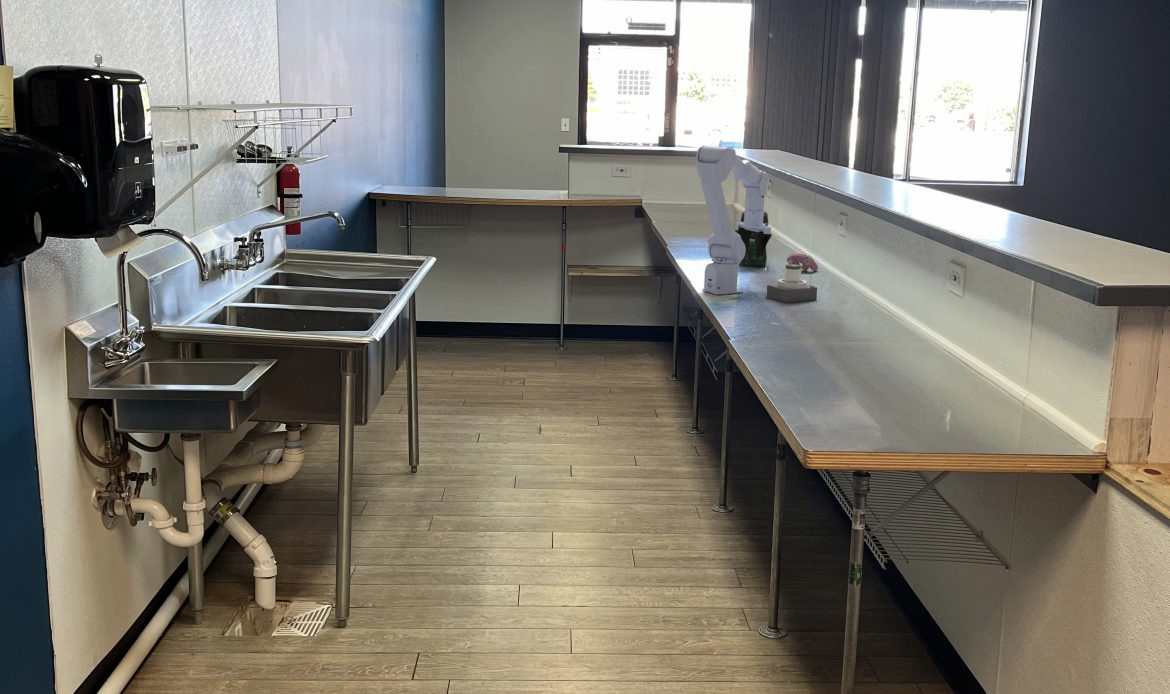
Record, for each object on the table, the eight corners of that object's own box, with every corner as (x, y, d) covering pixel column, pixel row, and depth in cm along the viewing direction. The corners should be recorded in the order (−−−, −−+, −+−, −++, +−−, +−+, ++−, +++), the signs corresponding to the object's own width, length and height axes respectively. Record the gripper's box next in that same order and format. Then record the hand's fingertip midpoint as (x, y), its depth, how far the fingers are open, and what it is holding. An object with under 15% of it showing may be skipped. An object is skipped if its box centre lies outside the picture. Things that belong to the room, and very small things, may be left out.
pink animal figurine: (787, 273, 350) (783, 255, 346) (794, 265, 352) (790, 248, 348) (813, 277, 343) (809, 259, 339) (820, 269, 345) (816, 252, 342)
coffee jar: (765, 263, 358) (768, 210, 354) (766, 267, 350) (770, 212, 346) (737, 262, 359) (740, 209, 355) (738, 266, 351) (741, 212, 347)
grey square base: (786, 302, 292) (787, 285, 291) (766, 296, 300) (767, 279, 298) (816, 299, 297) (817, 282, 296) (796, 293, 305) (797, 277, 304)
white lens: (791, 288, 295) (792, 267, 293) (781, 285, 298) (782, 264, 297) (803, 286, 297) (804, 266, 295) (793, 284, 300) (794, 263, 299)
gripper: (779, 212, 308) (777, 257, 311) (750, 207, 320) (747, 250, 324) (761, 213, 305) (758, 258, 308) (731, 207, 317) (729, 251, 320)
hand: (751, 254), depth 316 cm, fingers open, 7 cm apart
